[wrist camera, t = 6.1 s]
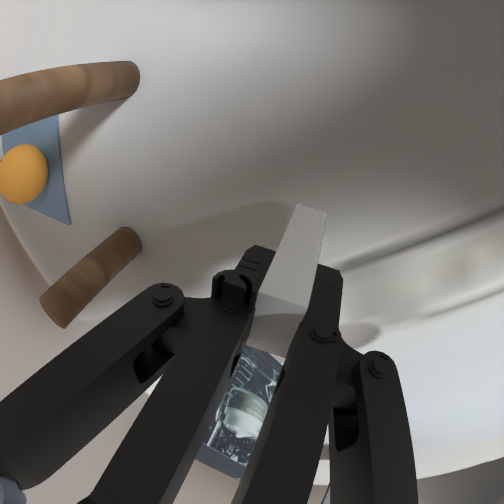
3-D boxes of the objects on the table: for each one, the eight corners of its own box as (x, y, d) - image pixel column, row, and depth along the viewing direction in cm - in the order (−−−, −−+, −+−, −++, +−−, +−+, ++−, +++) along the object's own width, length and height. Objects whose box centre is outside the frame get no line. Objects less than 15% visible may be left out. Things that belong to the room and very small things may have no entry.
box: (316, 392, 25) (291, 487, 16) (267, 400, 28) (237, 480, 20) (247, 328, 22) (194, 441, 14) (200, 344, 26) (149, 433, 18)
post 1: (112, 62, 13) (-10, 84, 6) (141, 59, 13) (9, 76, 6) (110, 98, 15) (-8, 135, 8) (138, 98, 14) (10, 135, 7)
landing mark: (0, 93, 17) (-1, 94, 17) (58, 78, 15) (56, 79, 14) (13, 198, 25) (12, 199, 25) (71, 224, 23) (69, 225, 23)
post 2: (115, 223, 21) (34, 290, 13) (140, 232, 20) (57, 307, 13) (119, 249, 22) (47, 317, 15) (142, 258, 22) (70, 334, 15)
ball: (-4, 158, 13) (52, 137, 17) (-11, 154, 15) (35, 136, 19) (10, 220, 16) (60, 195, 20) (-1, 206, 18) (42, 185, 22)
